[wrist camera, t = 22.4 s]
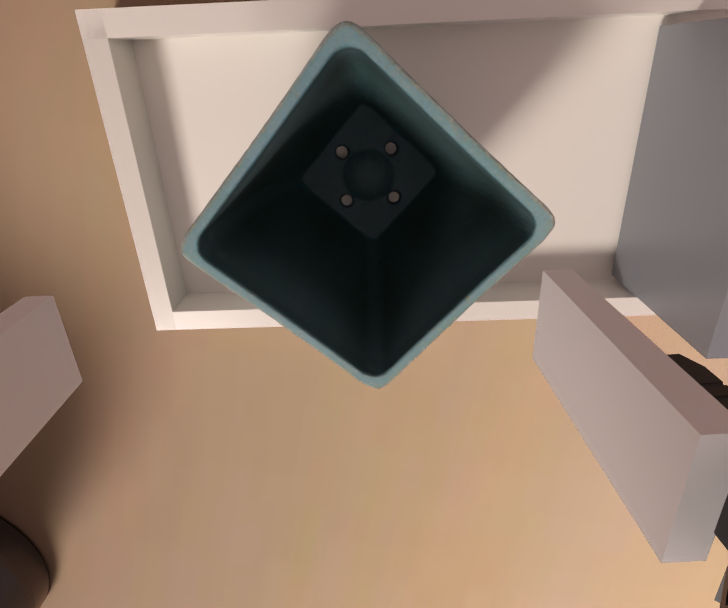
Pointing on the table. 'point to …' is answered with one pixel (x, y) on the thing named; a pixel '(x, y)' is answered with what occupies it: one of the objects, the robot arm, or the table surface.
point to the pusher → (682, 188)
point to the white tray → (446, 86)
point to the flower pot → (364, 213)
